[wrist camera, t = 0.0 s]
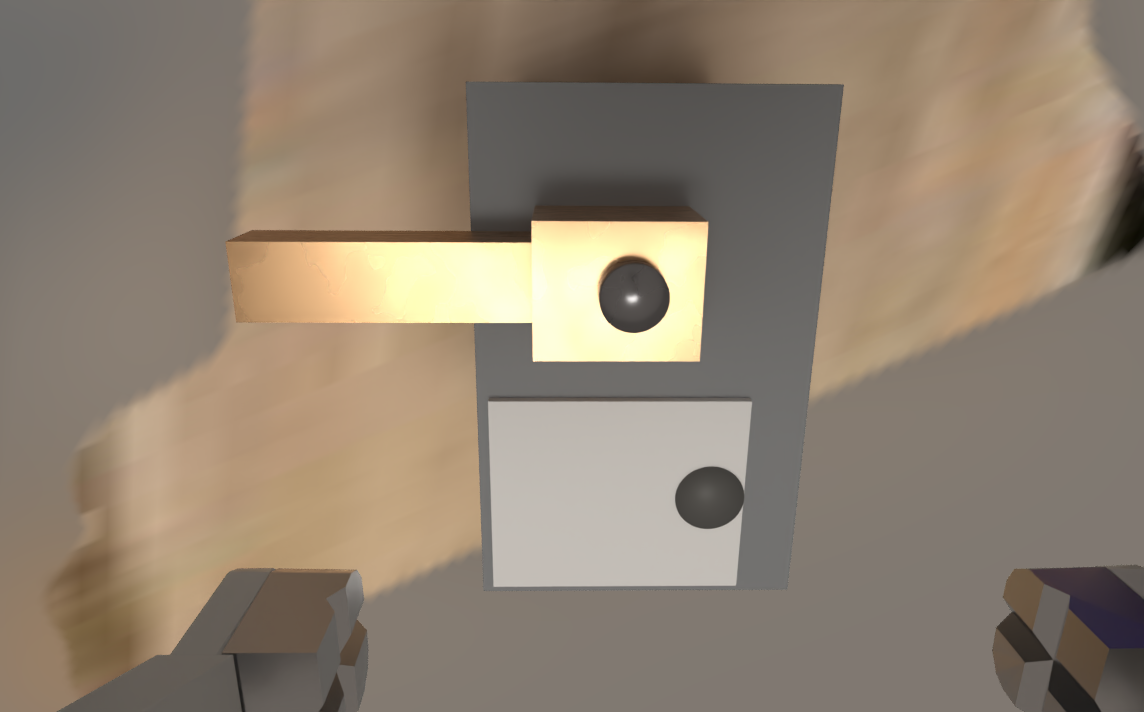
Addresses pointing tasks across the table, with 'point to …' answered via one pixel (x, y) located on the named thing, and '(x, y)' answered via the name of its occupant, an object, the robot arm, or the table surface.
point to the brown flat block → (497, 279)
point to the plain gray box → (655, 388)
